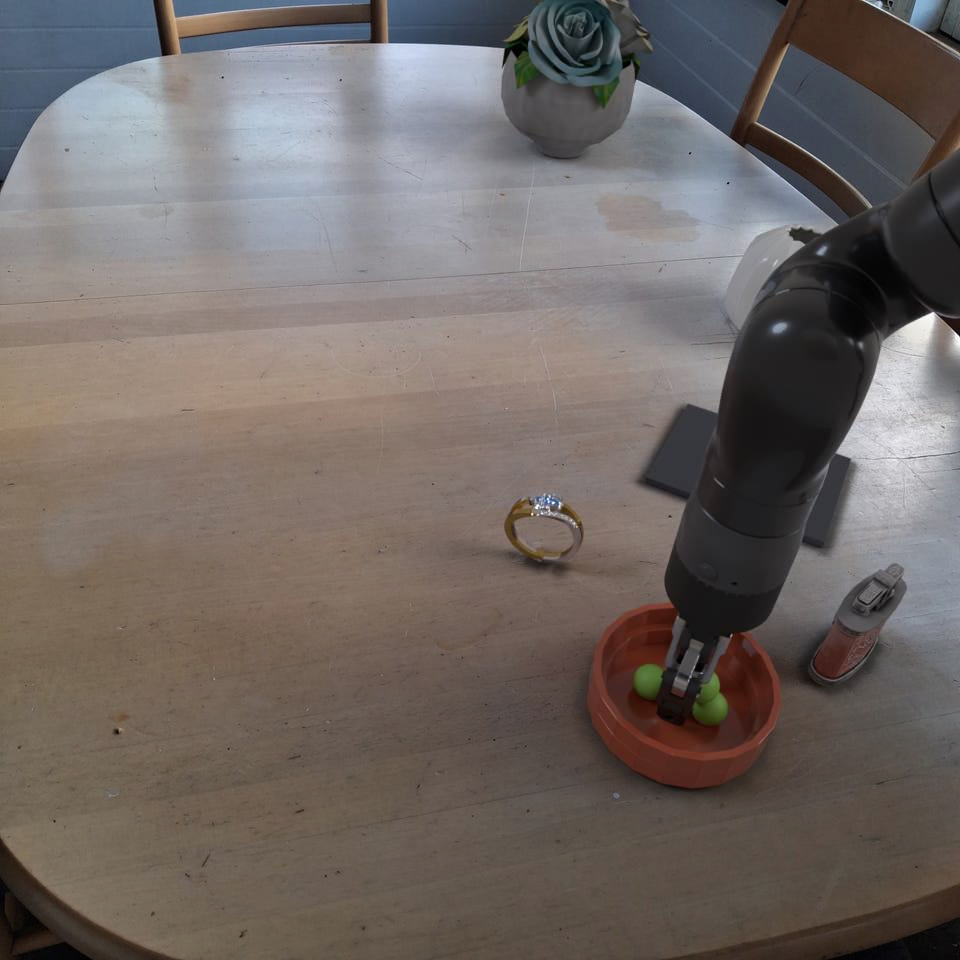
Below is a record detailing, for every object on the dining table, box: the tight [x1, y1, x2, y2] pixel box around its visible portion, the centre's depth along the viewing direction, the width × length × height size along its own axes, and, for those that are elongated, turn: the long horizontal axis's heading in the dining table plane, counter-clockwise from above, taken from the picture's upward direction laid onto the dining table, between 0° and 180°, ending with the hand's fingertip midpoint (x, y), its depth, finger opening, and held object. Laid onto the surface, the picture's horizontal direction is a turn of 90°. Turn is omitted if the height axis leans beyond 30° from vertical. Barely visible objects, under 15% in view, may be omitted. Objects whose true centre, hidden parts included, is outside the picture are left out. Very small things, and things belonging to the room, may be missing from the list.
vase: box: [723, 223, 826, 332], centre depth 109 cm, size 14×14×13 cm
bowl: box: [586, 601, 783, 789], centre depth 71 cm, size 14×14×4 cm
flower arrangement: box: [500, 0, 654, 159], centre depth 142 cm, size 25×25×24 cm
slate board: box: [644, 403, 852, 549], centre depth 93 cm, size 18×14×1 cm
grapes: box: [633, 664, 728, 726], centre depth 70 cm, size 8×3×6 cm, turn 63°
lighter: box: [807, 562, 908, 688], centre depth 73 cm, size 8×3×10 cm, turn 133°
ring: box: [503, 490, 585, 565], centre depth 80 cm, size 7×3×8 cm, turn 67°
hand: (679, 694), depth 71 cm, fingers open, 4 cm apart
